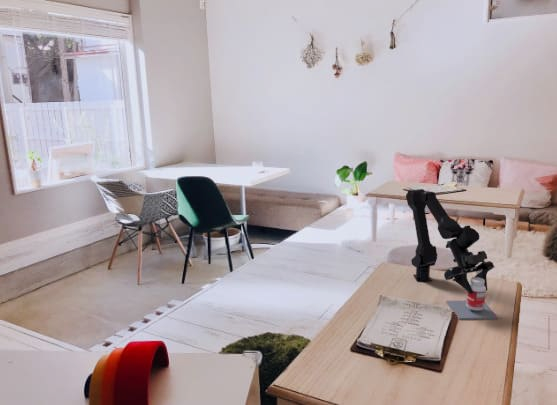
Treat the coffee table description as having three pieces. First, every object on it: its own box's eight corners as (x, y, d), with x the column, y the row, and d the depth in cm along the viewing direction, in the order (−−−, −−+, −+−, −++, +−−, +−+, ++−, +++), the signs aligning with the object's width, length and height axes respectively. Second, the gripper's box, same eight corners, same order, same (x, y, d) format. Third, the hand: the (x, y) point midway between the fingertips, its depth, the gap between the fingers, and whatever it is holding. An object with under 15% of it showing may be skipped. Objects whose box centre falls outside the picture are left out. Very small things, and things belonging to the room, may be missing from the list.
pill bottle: (463, 303, 179) (465, 276, 176) (479, 303, 179) (482, 275, 176) (470, 311, 173) (473, 283, 170) (486, 310, 173) (490, 282, 170)
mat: (446, 302, 184) (446, 300, 184) (482, 301, 184) (483, 300, 183) (458, 319, 170) (459, 318, 170) (498, 319, 170) (498, 317, 170)
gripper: (451, 247, 171) (470, 287, 163) (493, 240, 176) (513, 279, 169) (436, 260, 180) (453, 299, 172) (476, 253, 185) (494, 291, 178)
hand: (479, 292), depth 173 cm, fingers closed on pill bottle, 6 cm apart
